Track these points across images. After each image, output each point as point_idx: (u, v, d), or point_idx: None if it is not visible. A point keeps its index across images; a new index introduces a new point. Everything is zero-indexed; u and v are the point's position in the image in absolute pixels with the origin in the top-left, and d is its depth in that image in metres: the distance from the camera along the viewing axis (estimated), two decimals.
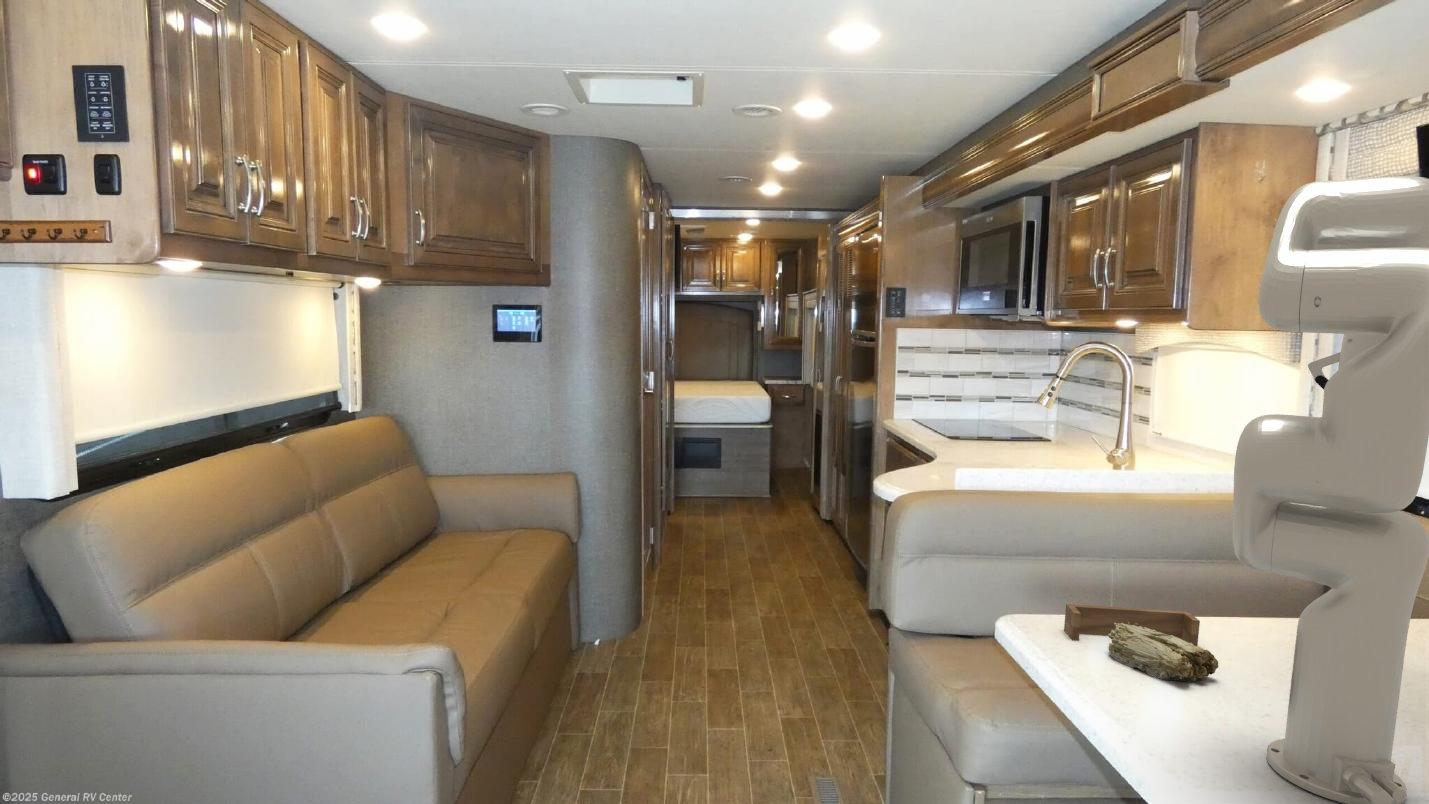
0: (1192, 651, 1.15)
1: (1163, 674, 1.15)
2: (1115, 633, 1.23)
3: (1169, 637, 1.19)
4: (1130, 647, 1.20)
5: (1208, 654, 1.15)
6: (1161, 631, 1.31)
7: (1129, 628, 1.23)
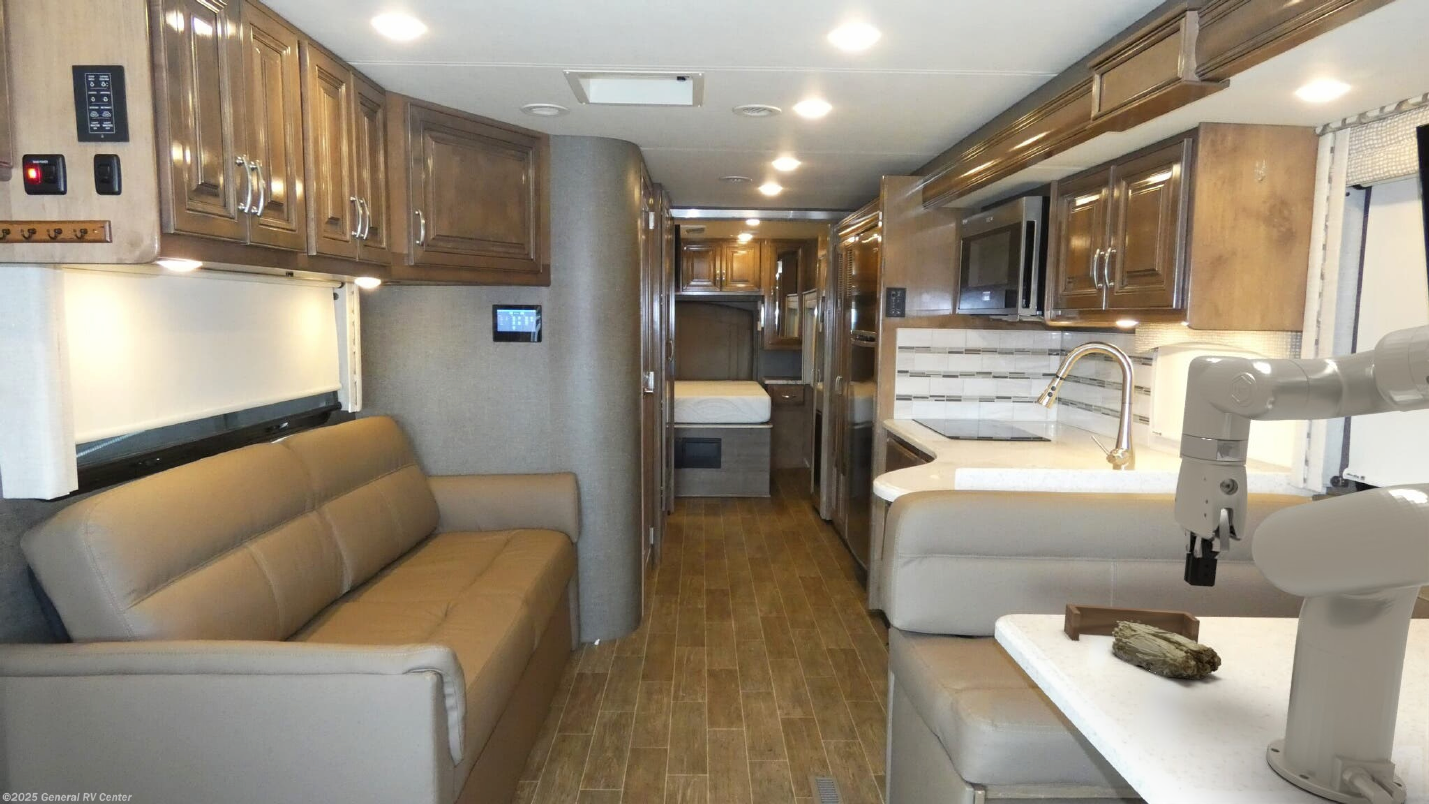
0: (1195, 649, 1.16)
1: (1167, 672, 1.16)
2: (1118, 631, 1.24)
3: (1172, 635, 1.20)
4: (1134, 644, 1.21)
5: (1211, 651, 1.16)
6: None
7: (1132, 626, 1.24)
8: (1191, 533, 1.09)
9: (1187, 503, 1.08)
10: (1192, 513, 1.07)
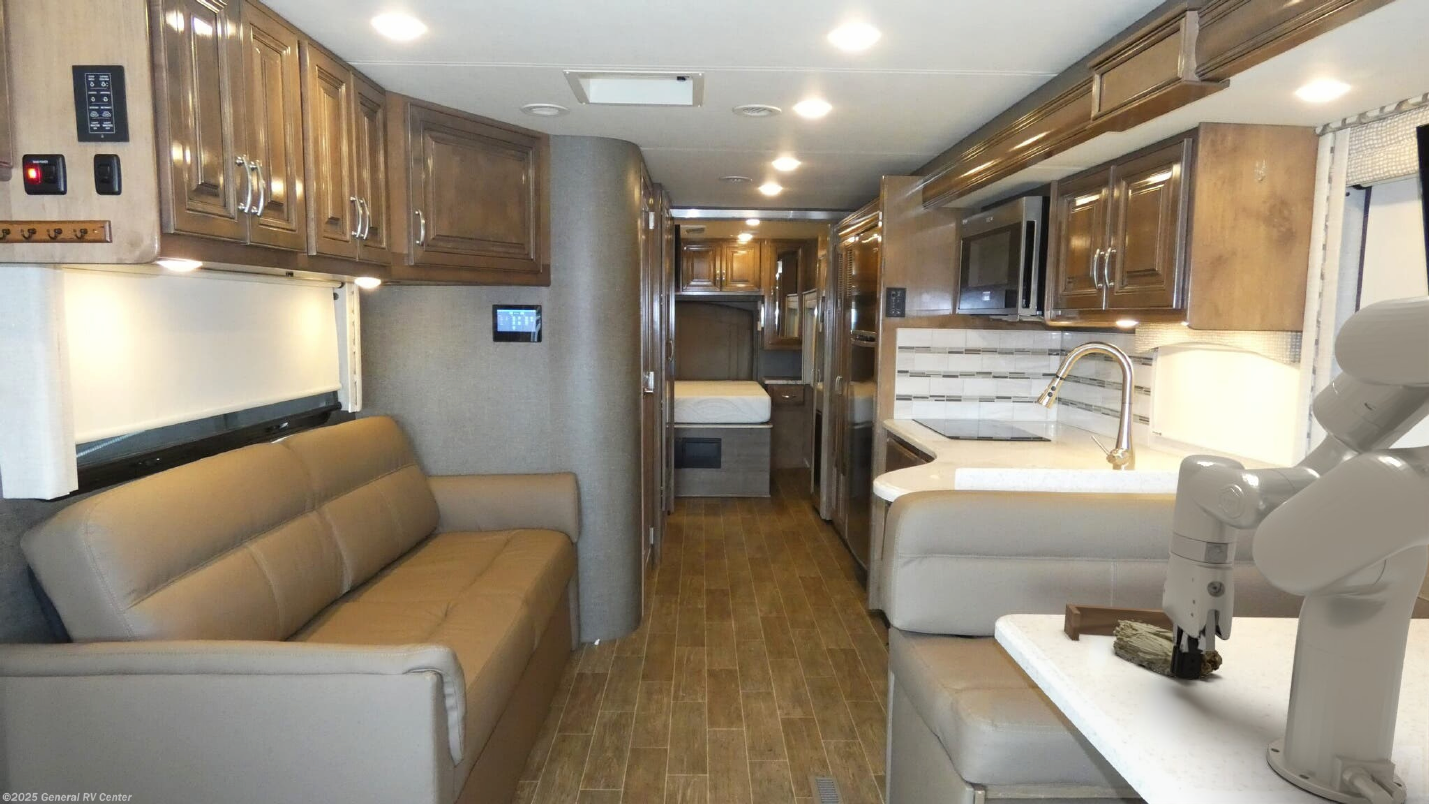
0: None
1: (1168, 671, 1.17)
2: (1120, 630, 1.25)
3: None
4: (1135, 644, 1.21)
5: None
6: None
7: (1133, 625, 1.24)
8: (1178, 626, 1.11)
9: (1175, 598, 1.10)
10: (1179, 609, 1.09)
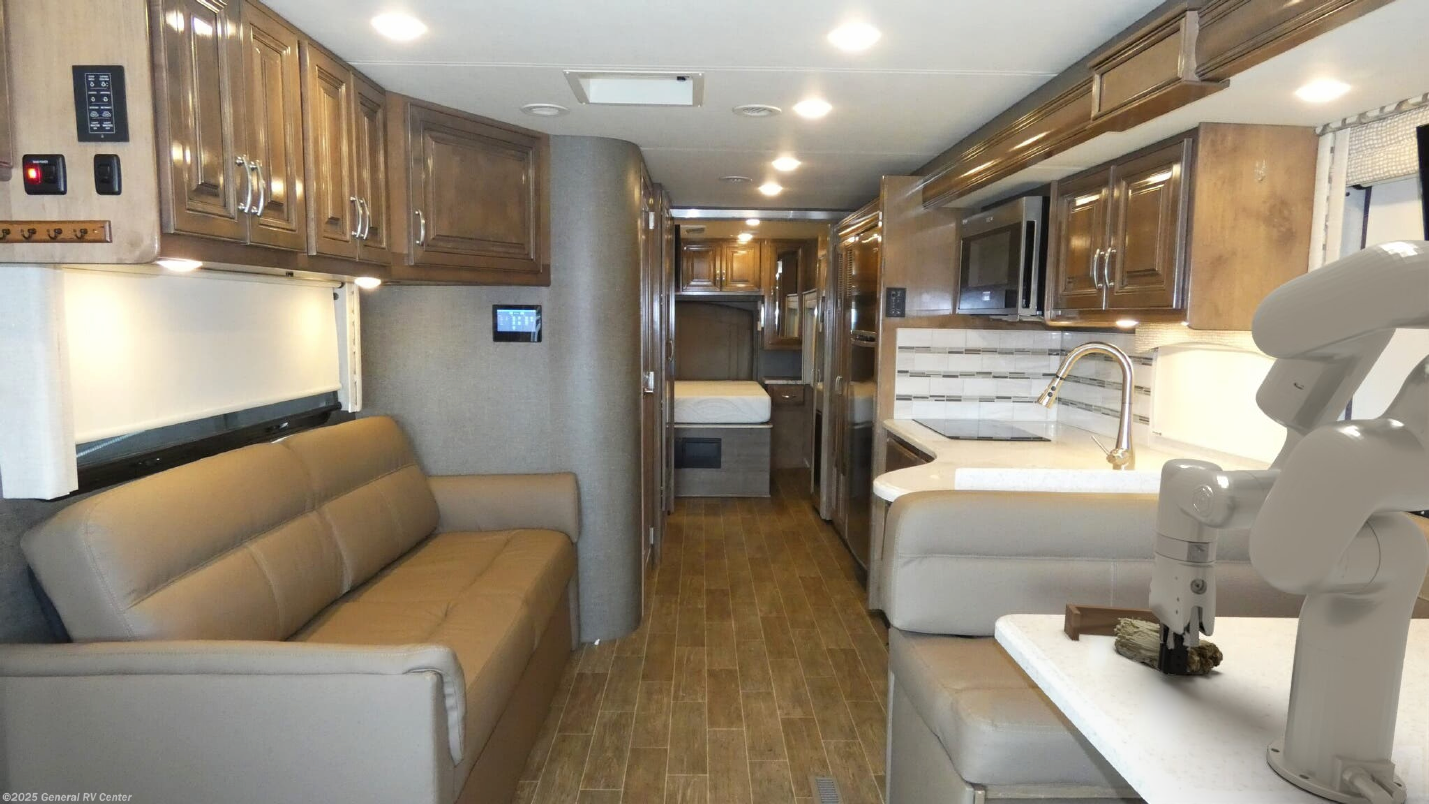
0: None
1: None
2: (1121, 628, 1.25)
3: None
4: (1137, 641, 1.22)
5: (1214, 647, 1.17)
6: None
7: (1134, 623, 1.25)
8: (1164, 624, 1.16)
9: (1160, 597, 1.14)
10: (1165, 607, 1.13)
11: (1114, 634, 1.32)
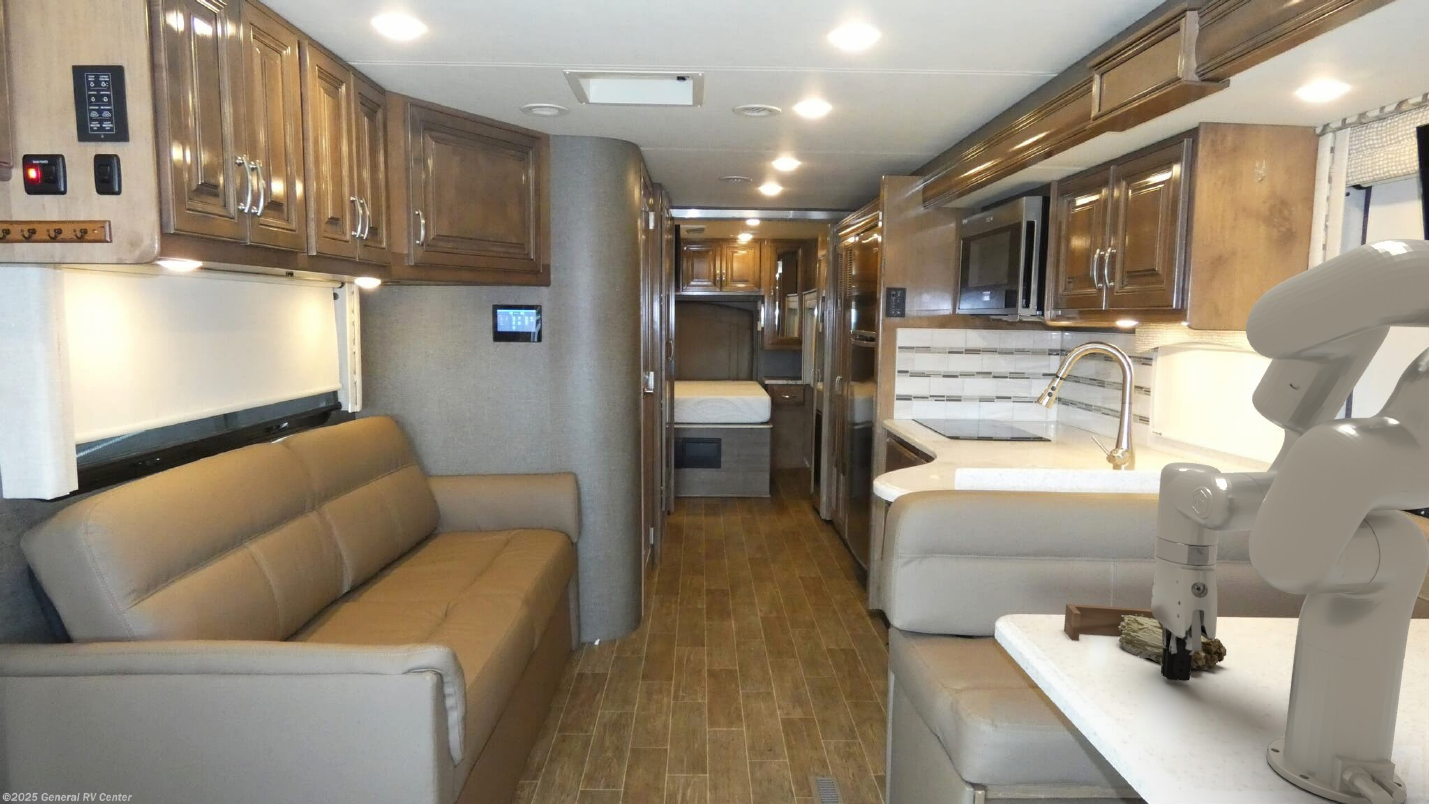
0: (1203, 640, 1.19)
1: None
2: (1125, 625, 1.27)
3: None
4: (1142, 638, 1.23)
5: (1218, 642, 1.19)
6: None
7: (1138, 620, 1.26)
8: (1167, 629, 1.15)
9: (1162, 601, 1.14)
10: (1167, 612, 1.13)
11: (1114, 634, 1.32)
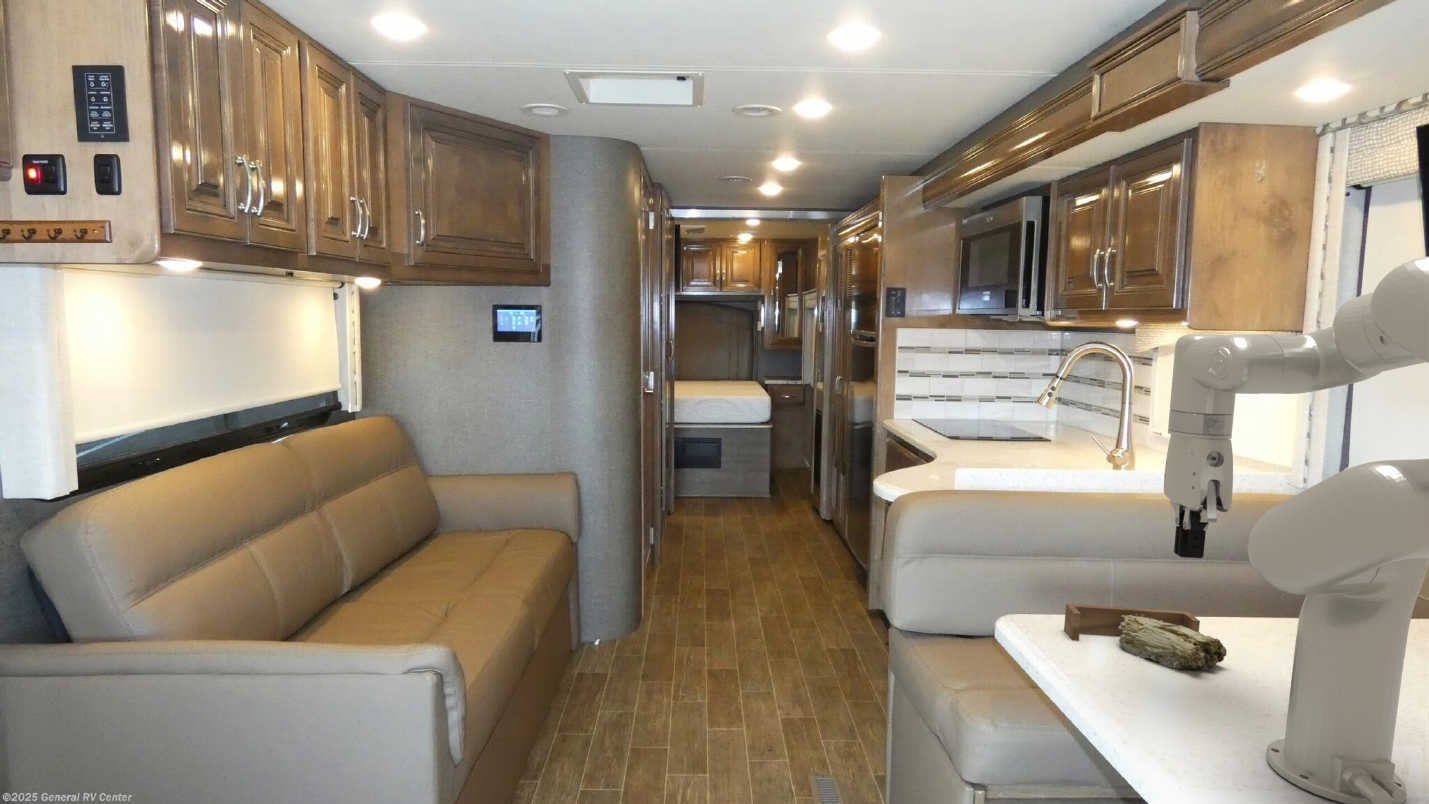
0: (1203, 640, 1.19)
1: (1177, 664, 1.19)
2: (1125, 625, 1.27)
3: (1179, 627, 1.23)
4: (1142, 638, 1.23)
5: (1218, 643, 1.19)
6: None
7: (1138, 620, 1.26)
8: (1180, 507, 1.13)
9: (1176, 477, 1.12)
10: (1180, 486, 1.10)
11: (1114, 634, 1.32)
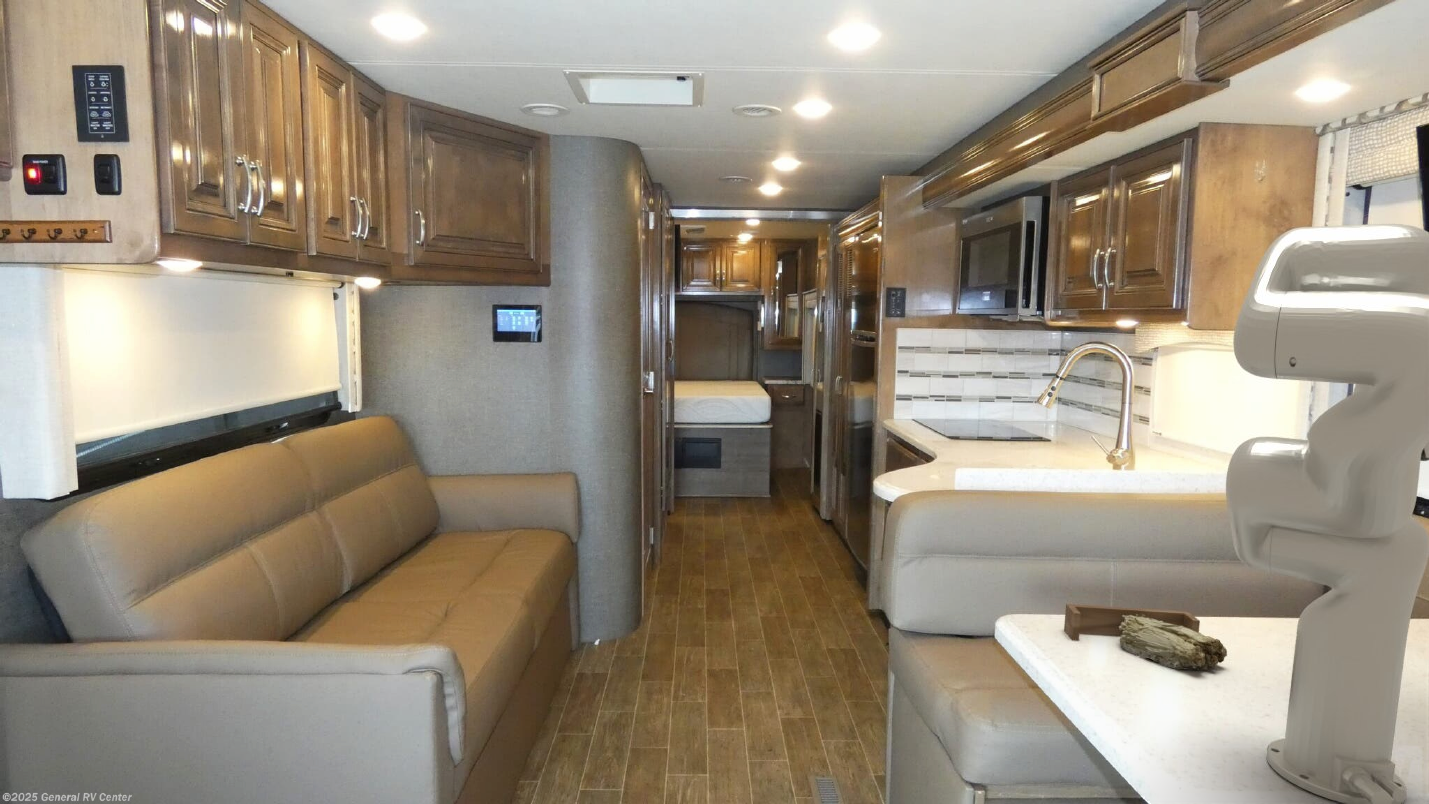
0: (1203, 641, 1.19)
1: (1177, 664, 1.19)
2: (1126, 625, 1.27)
3: (1179, 628, 1.23)
4: (1142, 638, 1.23)
5: (1218, 643, 1.19)
6: None
7: (1139, 620, 1.26)
8: None
9: None
10: None
11: (1114, 634, 1.32)
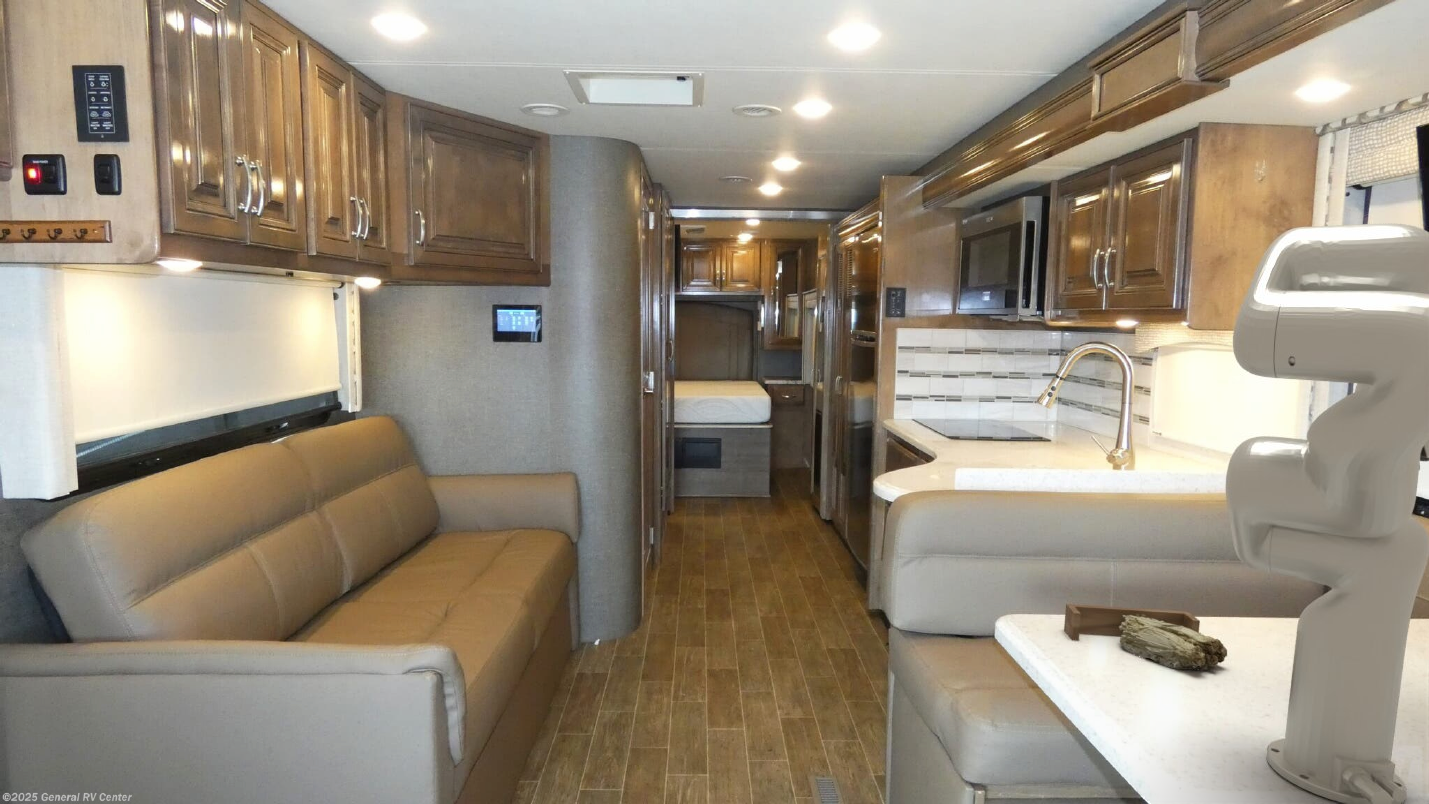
0: (1203, 641, 1.19)
1: (1177, 664, 1.19)
2: (1126, 625, 1.27)
3: (1179, 628, 1.23)
4: (1143, 638, 1.23)
5: (1218, 643, 1.19)
6: None
7: (1139, 620, 1.26)
8: None
9: None
10: None
11: (1114, 634, 1.32)
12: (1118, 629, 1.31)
